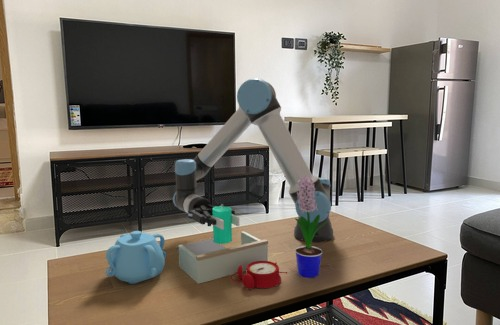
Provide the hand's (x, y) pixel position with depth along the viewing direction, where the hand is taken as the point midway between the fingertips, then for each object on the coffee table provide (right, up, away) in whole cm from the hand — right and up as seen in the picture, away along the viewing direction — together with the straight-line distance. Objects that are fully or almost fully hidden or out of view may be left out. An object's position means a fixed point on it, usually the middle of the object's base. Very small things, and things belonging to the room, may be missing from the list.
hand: (230, 223), depth 114 cm
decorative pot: (-28, -16, 0) cm, 32 cm away
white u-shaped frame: (-3, -14, +7) cm, 16 cm away
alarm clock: (+8, -17, -4) cm, 19 cm away
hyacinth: (+24, -16, 0) cm, 29 cm away
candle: (-3, -7, +6) cm, 9 cm away
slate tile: (-11, -13, +19) cm, 25 cm away
